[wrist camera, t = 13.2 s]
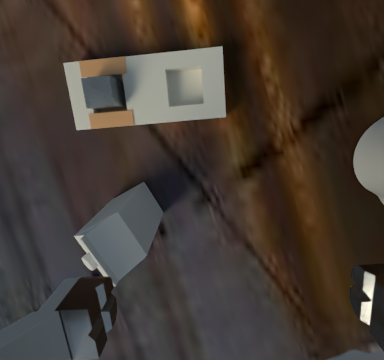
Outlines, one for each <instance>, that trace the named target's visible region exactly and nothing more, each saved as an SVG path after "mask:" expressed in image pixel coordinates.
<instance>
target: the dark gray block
mask: <svg viewBox="0 0 384 360" xmlns="http://www.w3.org/2000/svg"><path fill="white" fill-rule="evenodd" d="M81 82H82V87H83V92H84V98H85V103H86V108H87V109H114V108H124V107H127V105H126V98H125V91H124V84H123V81H122V80H119V79H117V78H114V77H112V76H99V77H89V78H81Z"/></svg>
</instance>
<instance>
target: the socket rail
mask: <svg viewBox="0 0 384 360" xmlns="http://www.w3.org/2000/svg"><path fill="white" fill-rule="evenodd" d="M63 64H64V69H65V74H66V79H67V84H68V89H69V94H70V99H71V104H72V109H73V114H74V119H75V124H76V129H77V130H85V129H96V128H108V127H119V126H130V125H142V124H153V123H164V122H176V121H187V120H198V119H210V118H221V117H226V106H225V86H224V66H223V46H221V47H211V48H202V49H193V50H183V51H174V52H164V53H155V54H145V55H136V56H126V57H125V56H123V57H114V58H104V59H95V60H85V61H79V62H69V63H63ZM99 76H112V77H114V78H117V79H119V80H122V81H123V84H124V91H125V98H126V105H127V107H124V108H114V109H87V108H86V103H85V98H84V92H83V87H82V82H81V78H89V77H99Z"/></svg>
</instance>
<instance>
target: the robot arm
mask: <svg viewBox="0 0 384 360" xmlns="http://www.w3.org/2000/svg"><path fill="white" fill-rule="evenodd" d="M353 164H354V171H355V174H356V177H357V179H358V180H359V182H360V183H361V184H362V185H363V186H364V187H365V188H366V189H368V190H369V191H371V192H373V193H374V194H376V195H377V196H378V197H379V199H380V200H381V202H382V203H383V204H384V117H382V118H381V119H380V120H378V121H377V122H375V123H374V124H373V125H372V126H370V127H369V128H368V129H367V130H366V132H365V133H364V134H363V135H362V137H361V138H360V140H359V142H358V144H357V146H356V149H355V153H354V160H353ZM351 277H352V278H353V280H354V281H355V283H354V284H353V285H352V286H351V287H350V296H349V297H350V301H351V305H352V308H353V310H354V312H355V314H356V315H357V316H358V318H359V319H360V320H361V321H363V322H365V323H366V324H368V325H370V328H369V332H370V334H371V335H372V336H373V338H374V339H375V340H376V342H377V343H378V344H379V346H380V347H381V348H382V350H383V351H384V264H367V265H354V266H353V268H352V270H351ZM113 287H114V286H113V282H112V279H111V278H110V277H109V276H108V277H82V278H81V277H74V278H67V279H65V280H64V281H63V282H62V283H61V284H60V286H59V287H58V288H57V289H56V290H55V291H54V293H53V294H52V295H51V296H50V297H49V299H48V300H47V301H46V302H45V303H44V304H43V306H42V307H41V308H40V309H39V310H38V311H37V312H32V313H30V314H28V315H27V316H25V317H23V318H21V319H20V320H18V321H16V322H15V323H13V324H11V325H9V326H8V327H6V328H4V329H2V330H1V331H0V360H89V359H99V358H100V355H101V353H102V351H103V349H104V346H105V344H106V342H107V336H106V333H107V332H108V331H109V330H110V329H112V328H113V325H114V323H115V320H116V314H117V302H116V298H115V297H114V296H113V295H112V294H111V291H112V289H113Z"/></svg>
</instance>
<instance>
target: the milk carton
mask: <svg viewBox="0 0 384 360" xmlns="http://www.w3.org/2000/svg"><path fill="white" fill-rule="evenodd" d="M162 216H163V211H162V209H161V208H160V206H159V204H158V203H157V201H156V200H155V198H154V197H153V195H152V193H151V192H150V190H149V189H148V187H147V186H146V184H145V183H144V182H142V183H141V184H139V185H137V186H135V187H133V188H132V189H130V190H128V191H126V192H125V193H123V194H121V195H119V196H117V197H116V198H114V199H112V200H111V201H110V202H109V203H108V204H107V205H106V206H105V207H104V208H103V209H102V210H101V211H100V212H99V213H98V214H97V215H96V216H94V217H93V218H92V219H91V220H90V221H89V222H88V223H87V224H86V225H85V226H84V227H83V228H82V229H81V230H80V231H79V232H78V233H77V234H76V235H75V236H74V237H75V238H76V240H77V241H78V242H79V244H80V245H81V246H82V248H83V249H84V250H85V252H86V253H87V254H86V255H84V256H83V257H82V261H83V263H84V264H85V265H86V266H87V267H88V268H89V269H90V270H92V271H93V270H94V269H95V268H96V267H97V268H98V269H99V271H100V272H101V273H102V275H103V276H104V277H108V276H109V277H110V278H111V279H112V282H113V286H116V285H117V283H118V281H119V280H120V279H121V278H122V277H123V276H124V275H126V274H127V273H128V272H129V271H130V270H131V269H132V268H134V267H135V266H136V265H137V264H138V263H139V262H140V261H142V260H143V259H144V258H145V257H146V256H147V254H148V251H149V249H150V246H151V244H152V241H153V238H154V236H155V233H156V231H157V228H158V226H159V223H160V221H161V218H162Z"/></svg>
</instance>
